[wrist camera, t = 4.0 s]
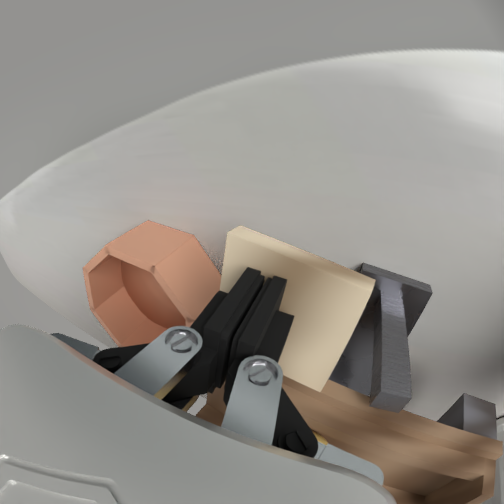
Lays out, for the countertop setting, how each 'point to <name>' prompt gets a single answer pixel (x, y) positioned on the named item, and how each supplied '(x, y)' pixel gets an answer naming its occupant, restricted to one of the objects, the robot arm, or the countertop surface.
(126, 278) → the salmon orange faceted bowl
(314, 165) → the countertop surface
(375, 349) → the stand
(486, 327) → the countertop surface
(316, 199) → the countertop surface
